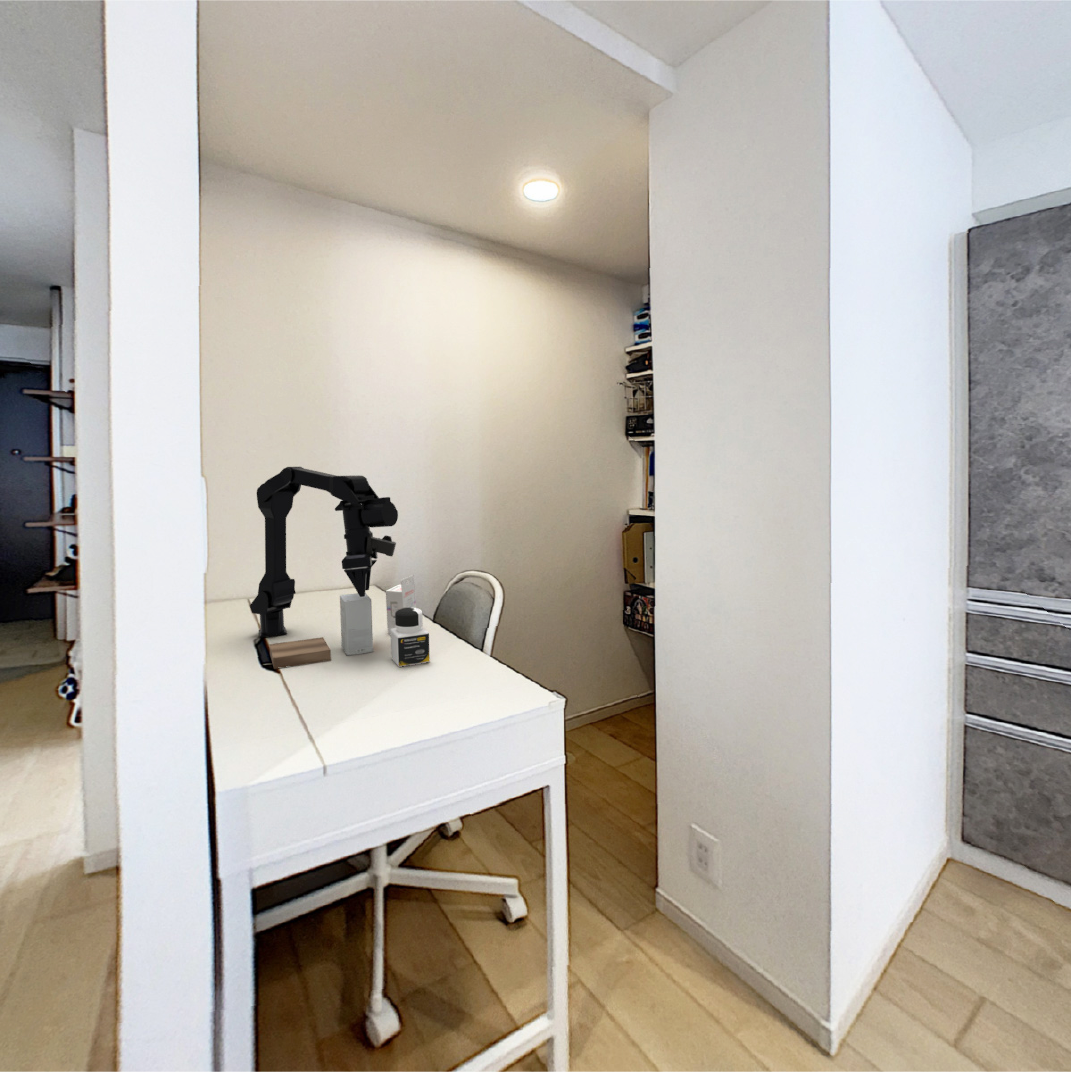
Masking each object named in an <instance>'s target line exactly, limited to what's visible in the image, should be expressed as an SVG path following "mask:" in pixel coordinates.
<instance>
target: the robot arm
mask: <svg viewBox="0 0 1071 1072" xmlns="http://www.w3.org/2000/svg"><path fill="white" fill-rule="evenodd" d="M302 486H303V487H304V486H305V487H307V488H313V489H316V490H321V491H324V492H327V493H329V494H330V495H331V496H332V497H334V498H336V499H338V500H340V502H339V503H338V504H337V505H336V506H335V507H334V511H336V512H339V511H340V512H341V511H342V518H343V527H344V534H343V539H344V540H345V544H346V552H345V556H344V557H343V559H342V560H341V568H342V570H343V571H344V573H345V574H346V575H347V577H348V579H349V580H350V582H351V584H352V585H353V587H354V589H355V591H356V593H358V594H359V596H360V597H364V596H365V593H366V591H369V590H370V584H371V573H372V568H373V566H374V565H375V563H377V561H378V560H377V559H378V558H379V557H378V554H381V555H382V554H383V555H385V556H388V557H393V556H394V555H395V554H394V553H395V551H396V550H395V549H396V546H397V542H396V541H393V539H392V536H389V535H386V534H385V535H384V536H383V537H382V538H380V537H375V536H374V535H373V532H372V531H371V528H388V527H393V526H395V525H396V524H397V522H398V519H399V512H398V511H399V510H397V507H396V505H395V504H394V503H393V502H391V497H390V496H387V497H385V496H384V497H379V496H378V495H377V493H376V492H375V490H374V489H373V488H372V487H371V485H370V484H369V481H368V478H367V477H365V476H364V475H358V474H357V475H335V474H332V473H326V472H322V471H318V470H312V469H309V468H304V467H302V466H287V467H284V468H283V469H281V471H280V472H279V473H277V474H276V475H274V476H271V477H270V478H268V479H267V480H266V481H265V482H264V483H261V484H260V486H259V487H257V489H256V501H257V502H256V503H257V508H258V509H259V511H260V512H261V514H262V515H263V517H264V551H265V552H264V554H265V555H264V556H265V559H264V562H265V565H264V566H265V567H264V569H265V570H264V571H265V573H264V574H263V576H262V578H261V580H260V582H259V583H258V590H257V595H256V596H255V598H254V599H253V600H252V602H251V603H250V605H249V608H250V612H251V613H252V614H255V615H259V624H260V625H259V626H260V629H258V635H259V638H266V637H265V636H269V637H274V636H283V635H287V634H288V631H287V629H286V627H285V618H284V617H285V616H284V610H285V609H290V608H291V605H292V602H293V600H294V597H295V594H296V589H295V588H296V587H295V586H296V579H295V578H291V577H290V576H289V574H288V572H287V518H288V516H289V514H290V511H291V510H292V508H293V505H294V504H293V503H294V497H295V496H297V494H298V493H299V492H300V491H301V488H302Z"/></svg>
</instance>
